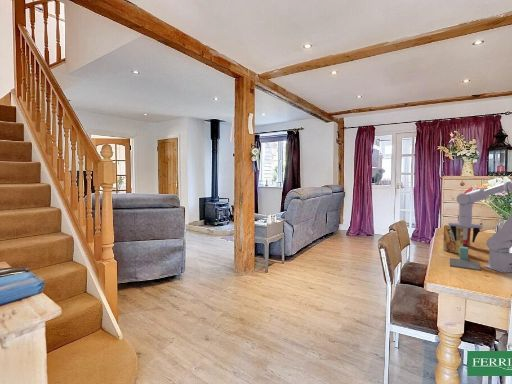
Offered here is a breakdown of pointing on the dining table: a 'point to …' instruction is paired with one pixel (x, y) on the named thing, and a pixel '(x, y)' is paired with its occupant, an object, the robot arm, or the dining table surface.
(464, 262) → the slate board
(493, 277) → the dining table surface
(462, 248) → the teal block
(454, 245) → the candy box
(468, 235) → the liquor
